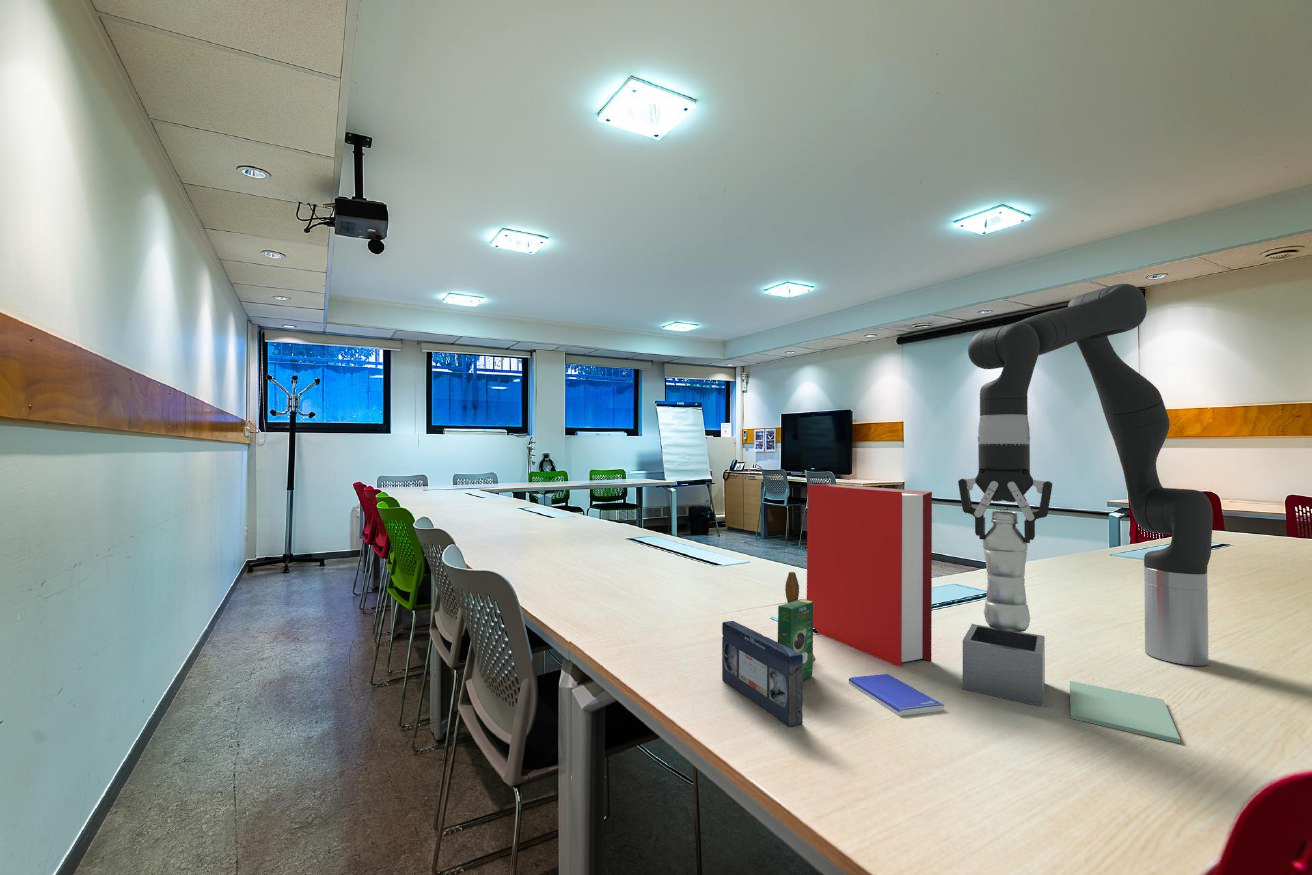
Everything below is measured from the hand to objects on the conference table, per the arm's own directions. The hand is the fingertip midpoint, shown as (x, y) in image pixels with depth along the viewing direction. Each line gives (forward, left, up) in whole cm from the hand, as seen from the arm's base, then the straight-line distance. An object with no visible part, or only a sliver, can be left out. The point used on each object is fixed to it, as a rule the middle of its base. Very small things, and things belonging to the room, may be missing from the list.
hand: (1004, 540), depth 97 cm
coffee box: (+20, -29, -25) cm, 43 cm away
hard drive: (+16, -14, -25) cm, 33 cm away
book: (-8, -26, -25) cm, 37 cm away
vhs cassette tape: (+31, -30, -25) cm, 50 cm away
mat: (0, +15, -24) cm, 29 cm away
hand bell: (+9, -34, -25) cm, 43 cm away
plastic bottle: (0, 0, -15) cm, 15 cm away
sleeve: (0, 0, -24) cm, 24 cm away
